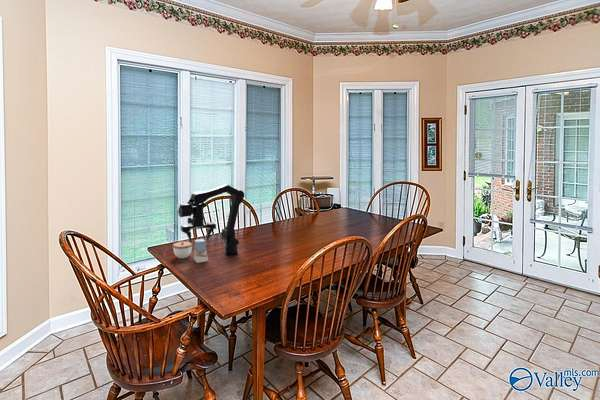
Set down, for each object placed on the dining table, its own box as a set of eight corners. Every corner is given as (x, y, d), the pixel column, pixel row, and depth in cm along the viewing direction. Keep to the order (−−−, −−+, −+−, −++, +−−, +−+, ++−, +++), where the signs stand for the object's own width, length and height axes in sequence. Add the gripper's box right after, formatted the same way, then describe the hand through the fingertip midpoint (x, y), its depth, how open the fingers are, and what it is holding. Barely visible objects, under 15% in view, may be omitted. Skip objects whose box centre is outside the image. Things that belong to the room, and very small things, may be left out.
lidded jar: (172, 260, 207) (172, 244, 205) (174, 254, 217) (173, 239, 215) (192, 259, 209) (191, 243, 208) (192, 253, 220) (192, 238, 218)
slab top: (204, 253, 211) (204, 248, 210) (206, 256, 205) (206, 251, 205) (194, 254, 208) (194, 249, 208) (196, 257, 203) (195, 252, 202)
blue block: (203, 248, 210) (202, 238, 209) (205, 251, 206) (205, 240, 205) (194, 250, 207) (194, 240, 206) (197, 252, 203) (196, 242, 202)
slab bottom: (204, 258, 211) (204, 253, 211) (207, 261, 206) (207, 256, 206) (194, 259, 208) (194, 254, 208) (197, 263, 203) (196, 257, 203)
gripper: (210, 211, 214) (210, 236, 217) (177, 213, 205) (178, 240, 207) (216, 214, 205) (216, 241, 207) (182, 217, 195) (183, 245, 198)
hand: (199, 241), depth 205 cm, fingers open, 9 cm apart
